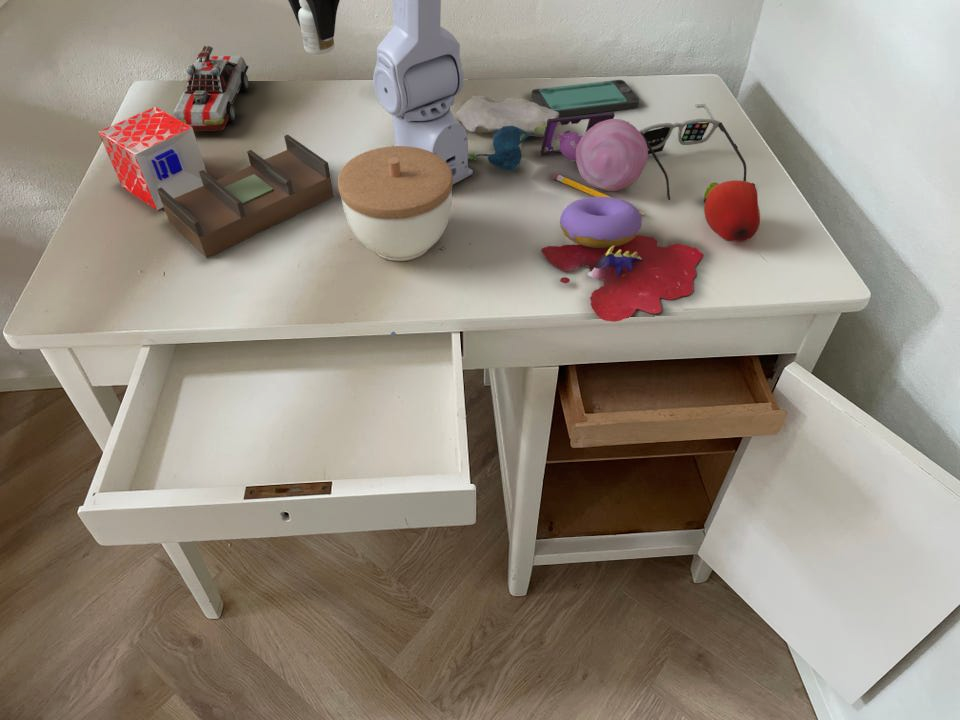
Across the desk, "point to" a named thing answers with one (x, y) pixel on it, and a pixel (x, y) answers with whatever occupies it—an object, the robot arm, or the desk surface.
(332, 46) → the pill bottle
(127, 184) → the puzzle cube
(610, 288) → the red splat with dinosaur
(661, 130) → the smart glasses
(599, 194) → the pencil
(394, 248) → the lidded bowl
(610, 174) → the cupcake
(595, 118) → the purple rectangular frame
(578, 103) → the smartphone
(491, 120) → the stone
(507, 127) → the blue flowers
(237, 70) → the toy car
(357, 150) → the desk surface
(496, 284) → the desk surface
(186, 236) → the divided wooden tray
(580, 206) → the donut
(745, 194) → the apple
